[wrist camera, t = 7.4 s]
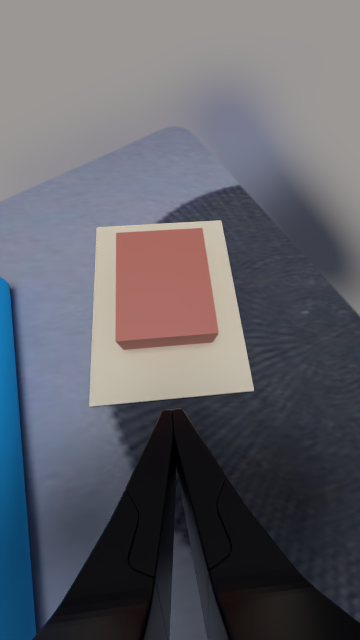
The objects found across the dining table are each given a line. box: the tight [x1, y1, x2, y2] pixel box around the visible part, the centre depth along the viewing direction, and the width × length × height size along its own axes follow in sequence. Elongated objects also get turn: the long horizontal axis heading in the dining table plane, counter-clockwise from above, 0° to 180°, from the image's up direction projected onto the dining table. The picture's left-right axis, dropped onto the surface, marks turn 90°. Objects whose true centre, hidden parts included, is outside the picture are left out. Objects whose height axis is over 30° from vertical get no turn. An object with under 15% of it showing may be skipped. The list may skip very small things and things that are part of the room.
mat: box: [89, 220, 254, 407], centre depth 19 cm, size 16×12×1 cm
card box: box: [115, 228, 219, 350], centre depth 18 cm, size 3×7×9 cm
